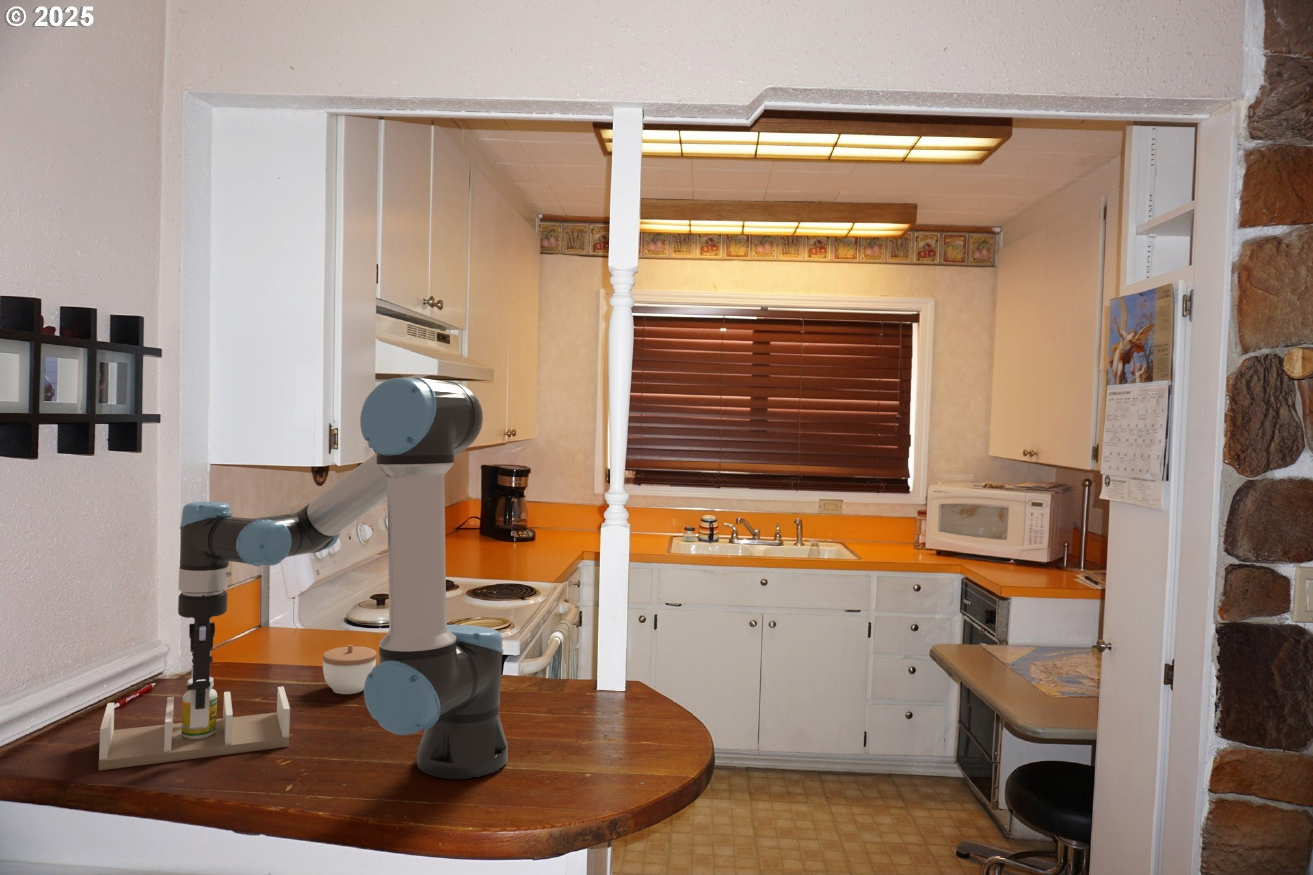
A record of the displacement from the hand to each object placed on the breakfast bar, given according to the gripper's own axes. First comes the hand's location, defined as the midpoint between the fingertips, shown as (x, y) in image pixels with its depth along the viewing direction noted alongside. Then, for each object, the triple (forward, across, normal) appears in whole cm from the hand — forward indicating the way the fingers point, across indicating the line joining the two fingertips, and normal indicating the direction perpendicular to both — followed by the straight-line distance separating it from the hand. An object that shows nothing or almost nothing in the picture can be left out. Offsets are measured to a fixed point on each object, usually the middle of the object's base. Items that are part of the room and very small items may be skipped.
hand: (199, 713), depth 150 cm
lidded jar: (+5, +21, -28) cm, 35 cm away
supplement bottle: (+4, 0, 0) cm, 4 cm away
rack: (+5, 0, 0) cm, 5 cm away
